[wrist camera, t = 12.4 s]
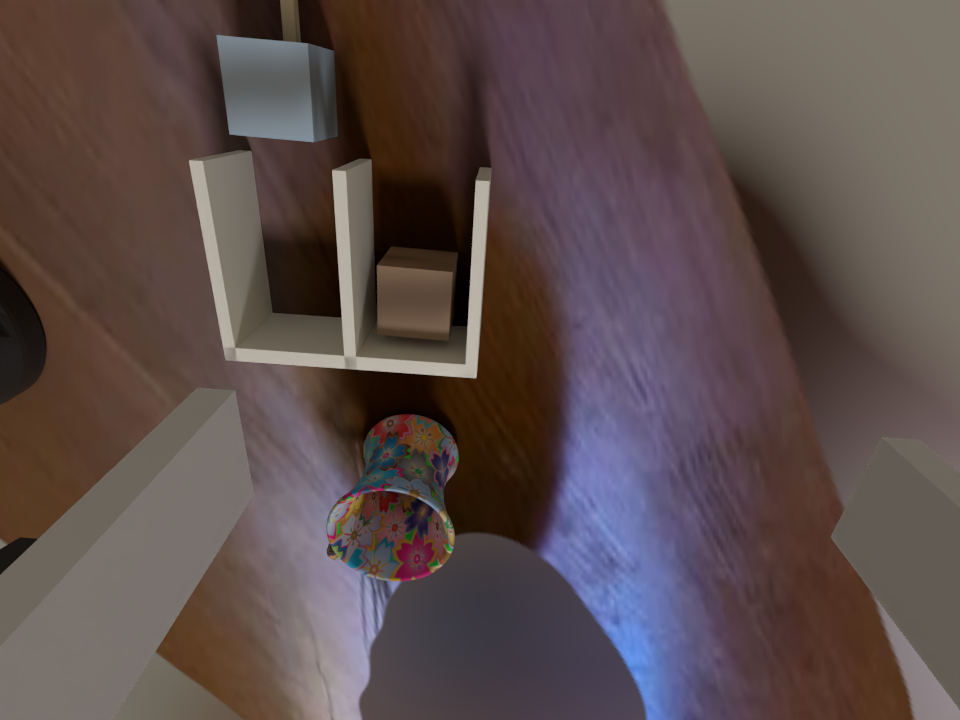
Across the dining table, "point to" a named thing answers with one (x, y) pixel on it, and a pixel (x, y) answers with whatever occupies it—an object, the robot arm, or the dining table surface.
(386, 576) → the mug
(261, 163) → the dining table surface
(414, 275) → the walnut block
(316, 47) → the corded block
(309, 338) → the lane rack
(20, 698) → the robot arm
